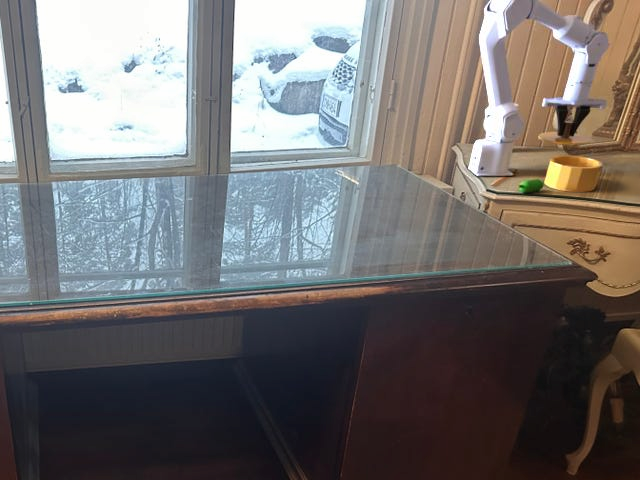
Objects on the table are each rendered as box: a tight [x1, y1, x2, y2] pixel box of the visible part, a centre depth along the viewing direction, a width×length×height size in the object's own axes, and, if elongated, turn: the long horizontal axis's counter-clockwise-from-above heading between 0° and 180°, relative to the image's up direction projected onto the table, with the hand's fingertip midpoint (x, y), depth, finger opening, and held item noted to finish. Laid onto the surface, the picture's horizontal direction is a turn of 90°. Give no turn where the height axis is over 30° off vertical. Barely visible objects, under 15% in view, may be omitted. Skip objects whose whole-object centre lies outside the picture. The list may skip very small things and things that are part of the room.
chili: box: [516, 178, 545, 194], centre depth 170 cm, size 8×3×3 cm, turn 109°
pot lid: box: [537, 120, 592, 147], centre depth 181 cm, size 13×13×5 cm
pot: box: [543, 155, 604, 193], centre depth 173 cm, size 12×12×6 cm
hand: (565, 135), depth 182 cm, fingers closed on pot lid, 2 cm apart
